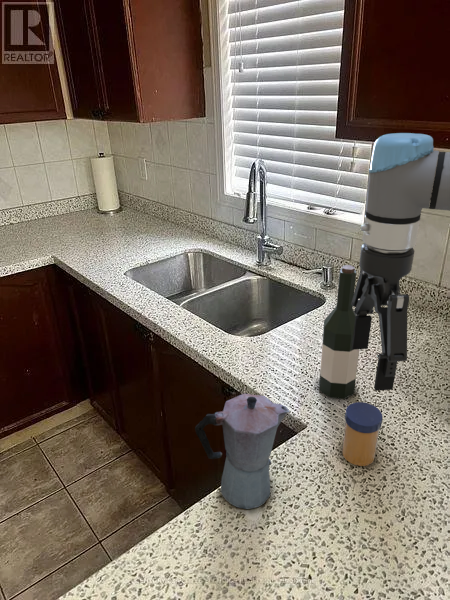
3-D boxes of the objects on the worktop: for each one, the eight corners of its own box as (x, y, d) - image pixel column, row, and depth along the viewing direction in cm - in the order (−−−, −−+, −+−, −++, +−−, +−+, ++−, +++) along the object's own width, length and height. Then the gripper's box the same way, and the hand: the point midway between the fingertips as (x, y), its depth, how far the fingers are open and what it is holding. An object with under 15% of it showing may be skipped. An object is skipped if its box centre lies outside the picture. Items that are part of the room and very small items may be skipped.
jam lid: (384, 415, 82) (385, 407, 82) (377, 437, 77) (379, 430, 77) (349, 405, 85) (350, 398, 84) (340, 426, 80) (341, 419, 79)
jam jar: (377, 448, 86) (383, 410, 82) (371, 470, 81) (377, 431, 77) (346, 438, 89) (350, 401, 84) (338, 459, 84) (342, 421, 80)
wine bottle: (326, 401, 99) (337, 277, 85) (312, 379, 106) (320, 262, 92) (361, 396, 100) (378, 272, 86) (345, 374, 107) (357, 257, 94)
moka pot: (296, 500, 76) (301, 409, 67) (208, 525, 72) (202, 432, 63) (274, 459, 84) (277, 373, 75) (195, 480, 81) (187, 391, 72)
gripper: (340, 222, 76) (330, 332, 86) (393, 278, 55) (372, 415, 65) (384, 220, 77) (369, 330, 87) (452, 275, 56) (422, 412, 66)
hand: (370, 367), depth 76 cm, fingers open, 11 cm apart
